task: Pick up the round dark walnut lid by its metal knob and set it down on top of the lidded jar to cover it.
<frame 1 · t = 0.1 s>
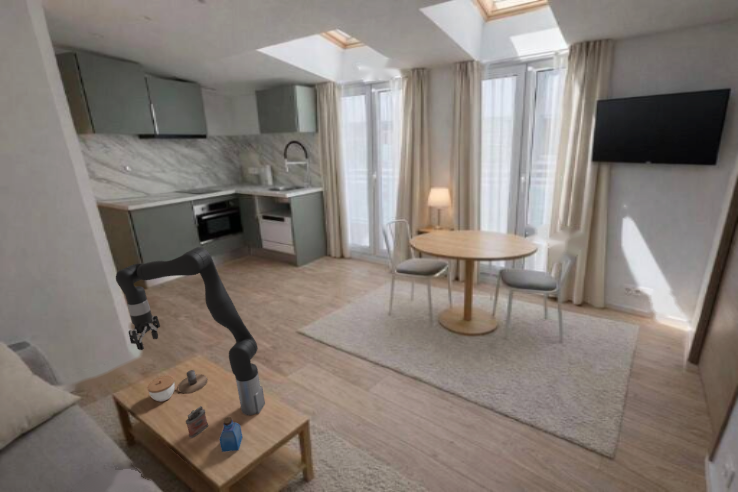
hand: (148, 344, 158), 29 cm above the table, tool pointing down, fingers open, 8 cm apart
lidded jar: (164, 397, 168), on the table
walnut lid: (193, 384, 176), on the table
lighter: (199, 431, 148), on the table
perfume bottle: (232, 445, 140), on the table
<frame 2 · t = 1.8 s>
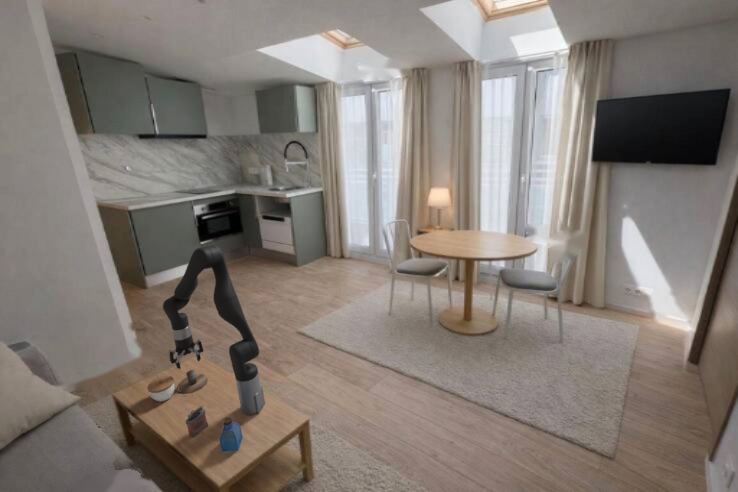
hand: (189, 364, 173), 11 cm above the table, tool pointing down, fingers open, 8 cm apart
nothing on the table moved.
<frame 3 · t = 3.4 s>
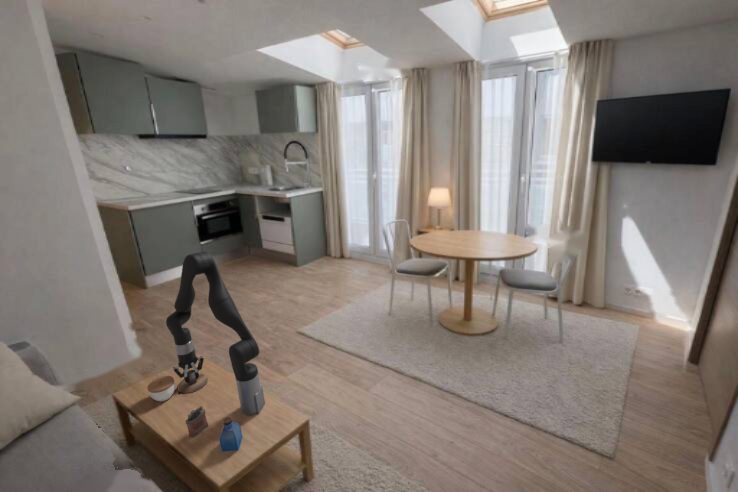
hand: (192, 380, 175), 2 cm above the table, tool pointing down, fingers closed on walnut lid, 3 cm apart
walnut lid: (193, 384, 176), on the table, touching gripper
everything else where it was.
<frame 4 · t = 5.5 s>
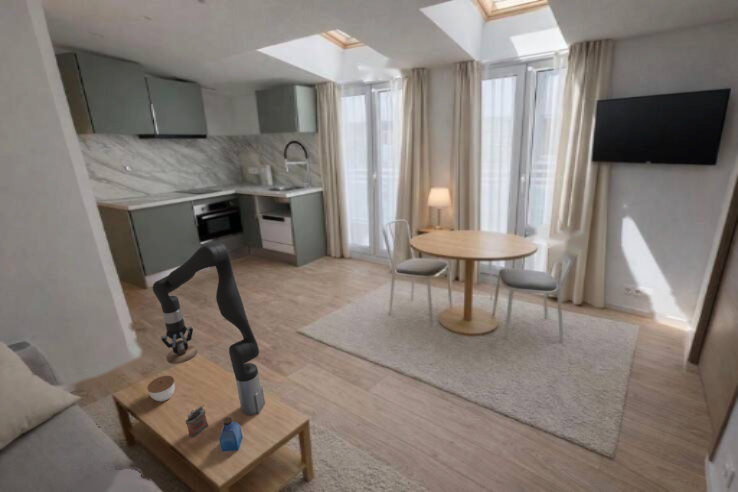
hand: (181, 351, 169), 19 cm above the table, tool pointing down, fingers closed on walnut lid, 3 cm apart
walnut lid: (182, 355, 170), point 17 cm above the table, touching gripper
everything else where it was.
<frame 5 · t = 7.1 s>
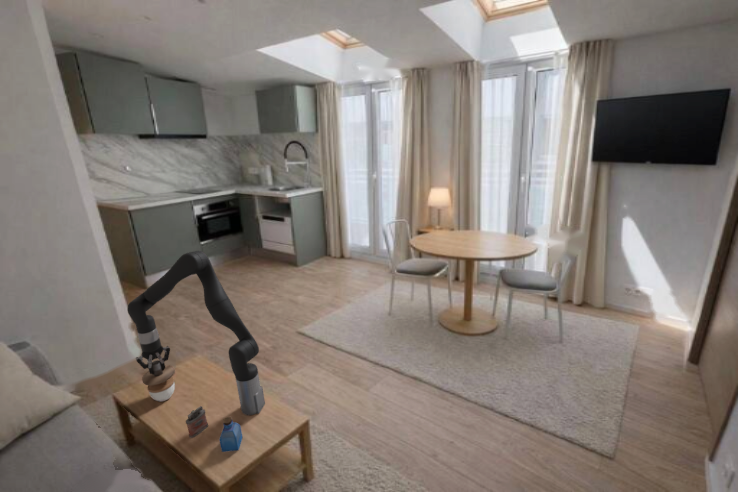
hand: (157, 371, 164), 14 cm above the table, tool pointing down, fingers closed on walnut lid, 3 cm apart
walnut lid: (159, 375, 164), point 12 cm above the table, touching gripper
everything else where it was.
when the fingers open (13 cm above the table, at t = 8.1 s): walnut lid stays where it is, resting on lidded jar.
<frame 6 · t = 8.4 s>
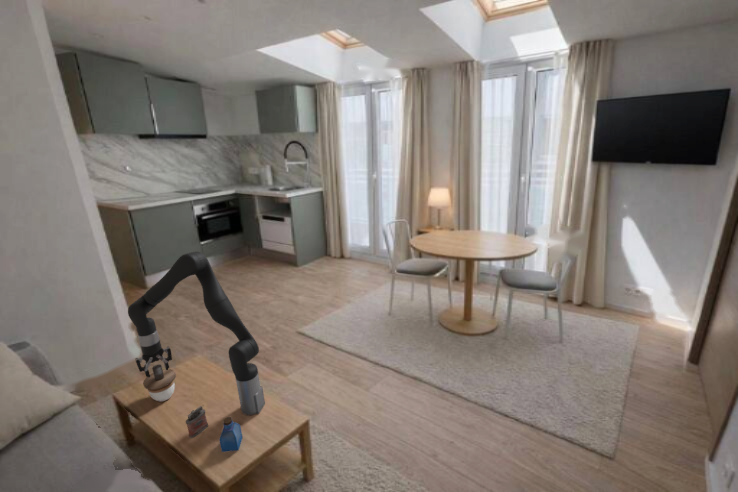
hand: (158, 372, 164), 13 cm above the table, tool pointing down, fingers open, 6 cm apart
lidded jar: (164, 397, 168), on the table, touching walnut lid
walnut lid: (160, 379, 165), point 9 cm above the table, touching lidded jar
everything else where it was.
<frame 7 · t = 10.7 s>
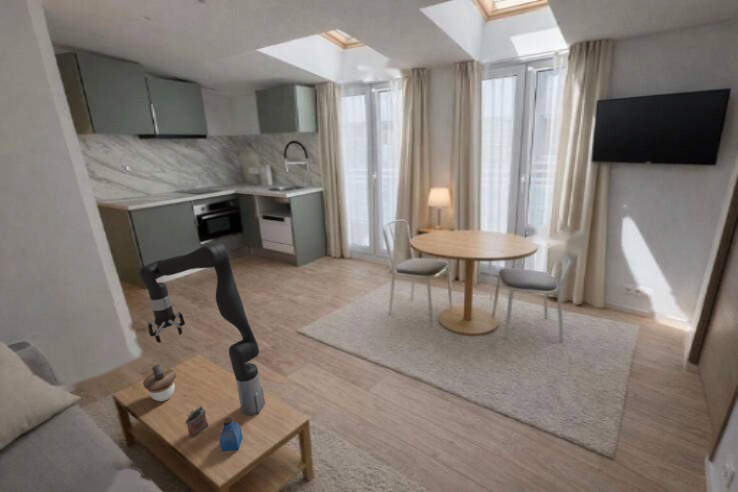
hand: (169, 338, 164), 28 cm above the table, tool pointing down, fingers open, 8 cm apart
nothing on the table moved.
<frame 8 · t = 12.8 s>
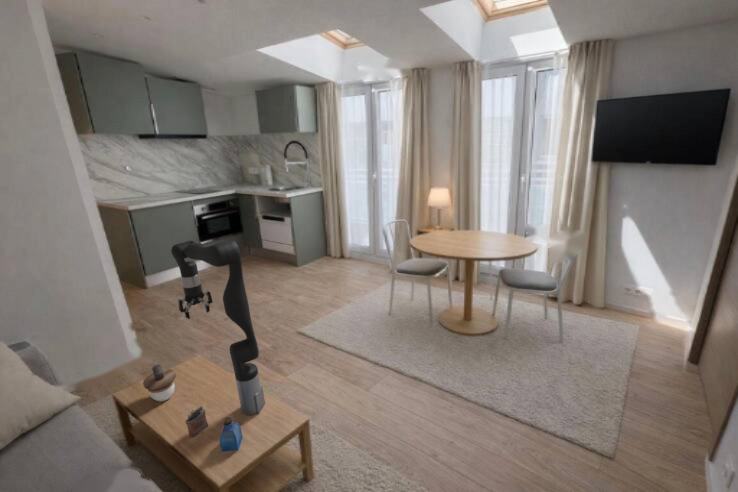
hand: (198, 315, 171), 34 cm above the table, tool pointing down, fingers open, 8 cm apart
nothing on the table moved.
at the end: walnut lid 0.1 cm off-centre on the lidded jar, point 9.6 cm above the lidded jar's base; walnut lid tilted 0°; the gripper is holding nothing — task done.
